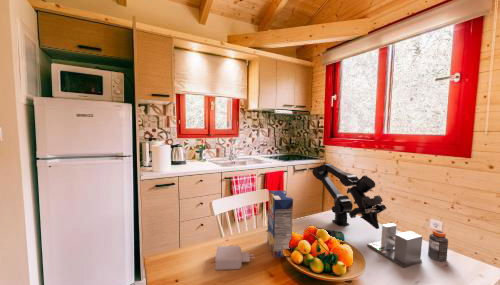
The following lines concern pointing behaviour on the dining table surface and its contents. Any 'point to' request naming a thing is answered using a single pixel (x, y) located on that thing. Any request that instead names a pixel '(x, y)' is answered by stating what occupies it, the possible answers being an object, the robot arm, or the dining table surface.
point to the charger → (230, 257)
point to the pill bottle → (438, 245)
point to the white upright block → (388, 236)
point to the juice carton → (279, 222)
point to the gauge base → (402, 249)
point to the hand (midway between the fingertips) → (378, 228)
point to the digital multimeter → (335, 234)
